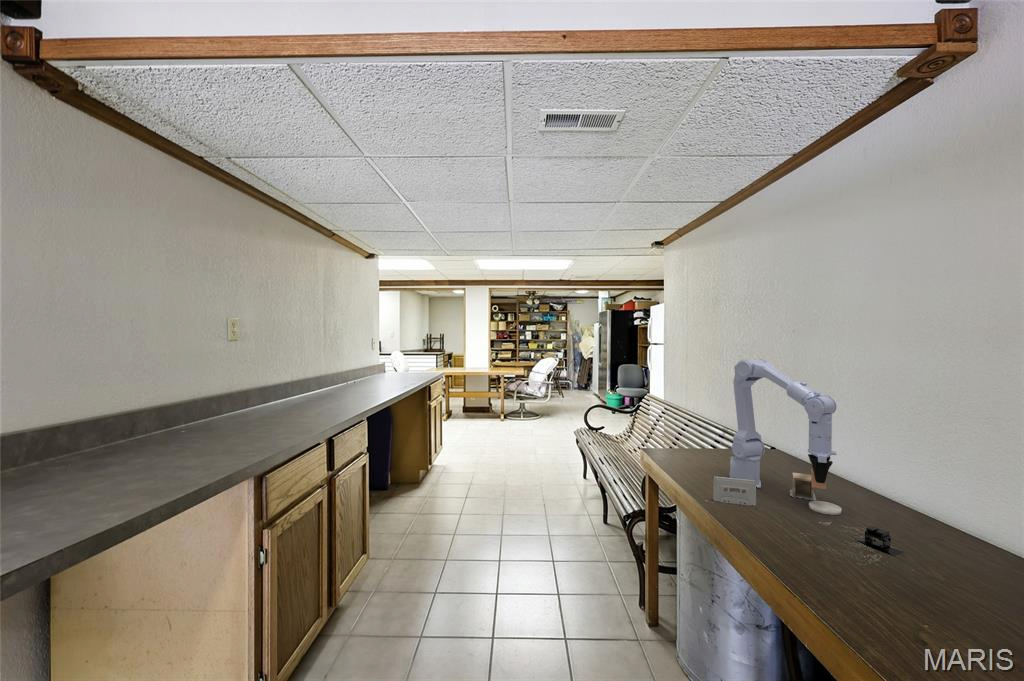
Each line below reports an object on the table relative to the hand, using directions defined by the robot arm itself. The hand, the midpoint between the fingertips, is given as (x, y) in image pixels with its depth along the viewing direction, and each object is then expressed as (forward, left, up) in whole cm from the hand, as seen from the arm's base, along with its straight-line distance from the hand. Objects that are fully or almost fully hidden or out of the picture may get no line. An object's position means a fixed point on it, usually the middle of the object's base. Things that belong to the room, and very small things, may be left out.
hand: (819, 480), depth 134 cm
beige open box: (-4, +11, -8) cm, 14 cm away
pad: (-4, +11, -9) cm, 14 cm away
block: (0, 0, -2) cm, 2 cm away
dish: (+1, 0, -9) cm, 9 cm away
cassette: (-23, -8, -9) cm, 26 cm away
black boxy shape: (+10, -21, -9) cm, 25 cm away
